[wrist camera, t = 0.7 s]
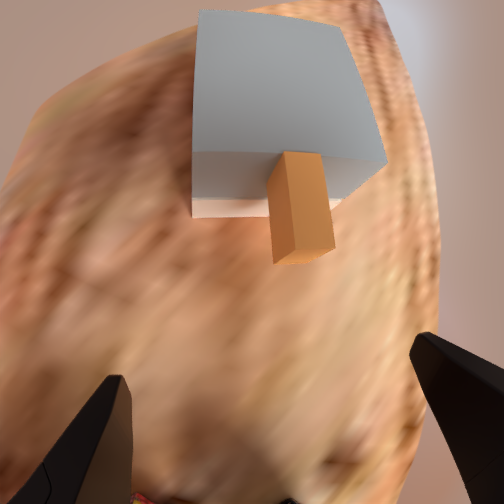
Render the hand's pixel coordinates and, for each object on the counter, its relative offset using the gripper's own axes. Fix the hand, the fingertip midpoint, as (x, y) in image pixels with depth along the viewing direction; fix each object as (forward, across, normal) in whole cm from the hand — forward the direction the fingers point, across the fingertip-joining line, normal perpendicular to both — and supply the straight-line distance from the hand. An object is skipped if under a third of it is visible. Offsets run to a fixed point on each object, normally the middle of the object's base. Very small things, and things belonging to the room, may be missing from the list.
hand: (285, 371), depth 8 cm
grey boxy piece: (+17, -3, -4) cm, 17 cm away
